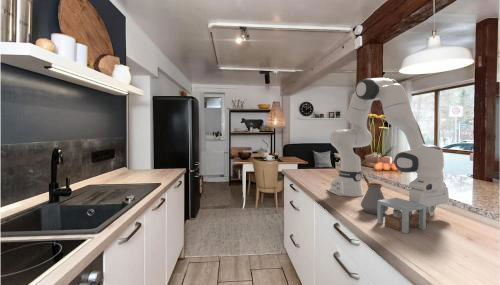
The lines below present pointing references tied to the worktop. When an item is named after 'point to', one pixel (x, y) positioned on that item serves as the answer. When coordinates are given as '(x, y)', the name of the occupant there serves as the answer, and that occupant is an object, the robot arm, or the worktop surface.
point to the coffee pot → (372, 197)
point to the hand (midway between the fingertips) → (429, 215)
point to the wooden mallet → (396, 219)
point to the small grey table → (405, 208)
